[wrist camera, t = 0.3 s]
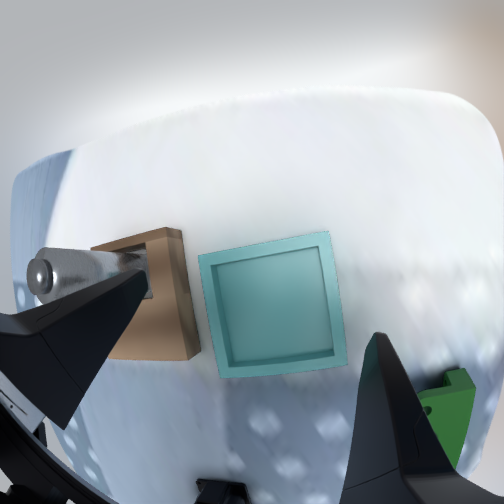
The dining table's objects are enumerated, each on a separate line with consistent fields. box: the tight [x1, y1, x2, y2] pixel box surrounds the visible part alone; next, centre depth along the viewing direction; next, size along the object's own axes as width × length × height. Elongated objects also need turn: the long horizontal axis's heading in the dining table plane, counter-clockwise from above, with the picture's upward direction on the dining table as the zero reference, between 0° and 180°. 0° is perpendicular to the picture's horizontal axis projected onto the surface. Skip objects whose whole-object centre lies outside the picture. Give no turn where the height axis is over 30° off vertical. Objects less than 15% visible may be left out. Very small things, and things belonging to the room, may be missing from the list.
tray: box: [198, 231, 348, 378], centre depth 23 cm, size 11×11×2 cm
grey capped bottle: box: [27, 247, 152, 304], centre depth 20 cm, size 4×4×14 cm
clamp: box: [417, 368, 476, 469], centre depth 17 cm, size 12×6×9 cm, turn 2°
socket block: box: [91, 227, 201, 361], centre depth 26 cm, size 12×10×3 cm
